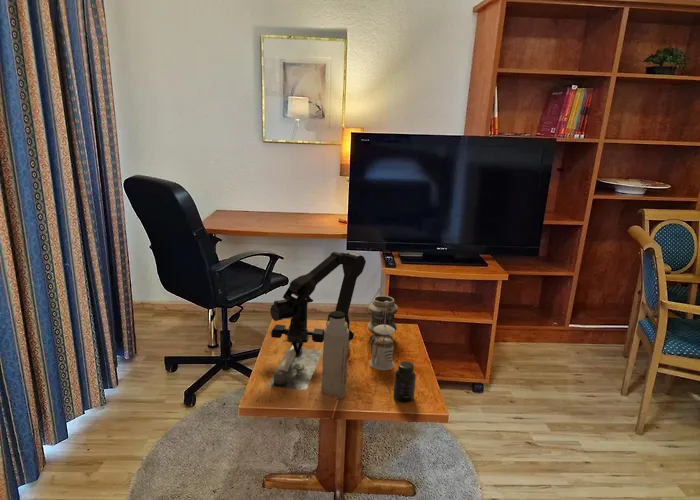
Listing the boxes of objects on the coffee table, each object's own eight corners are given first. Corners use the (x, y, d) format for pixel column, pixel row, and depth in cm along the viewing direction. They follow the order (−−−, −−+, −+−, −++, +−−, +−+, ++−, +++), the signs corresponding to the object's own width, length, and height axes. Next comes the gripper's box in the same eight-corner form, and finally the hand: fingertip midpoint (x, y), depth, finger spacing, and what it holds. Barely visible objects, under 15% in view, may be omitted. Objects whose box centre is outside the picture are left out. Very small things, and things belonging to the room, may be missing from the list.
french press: (400, 364, 181) (405, 301, 174) (380, 374, 172) (385, 309, 166) (379, 355, 187) (384, 294, 181) (360, 364, 179) (364, 301, 172)
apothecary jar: (376, 330, 209) (379, 291, 205) (400, 339, 202) (404, 298, 198) (361, 339, 200) (363, 298, 195) (385, 348, 193) (389, 306, 188)
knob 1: (285, 385, 158) (285, 373, 157) (272, 384, 159) (272, 372, 158) (294, 366, 171) (294, 355, 170) (282, 365, 171) (282, 353, 170)
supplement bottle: (391, 391, 162) (394, 359, 159) (411, 391, 162) (414, 359, 159) (394, 403, 155) (397, 369, 152) (415, 403, 156) (419, 369, 153)
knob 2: (292, 347, 185) (292, 337, 184) (303, 348, 185) (303, 338, 183) (283, 363, 172) (283, 352, 171) (295, 365, 172) (295, 353, 171)
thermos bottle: (350, 391, 160) (354, 312, 153) (336, 402, 154) (341, 320, 147) (330, 383, 164) (334, 306, 157) (316, 393, 158) (319, 314, 151)
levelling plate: (322, 354, 185) (322, 349, 184) (306, 394, 157) (306, 388, 157) (289, 350, 186) (289, 345, 186) (267, 389, 158) (267, 384, 158)
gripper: (267, 320, 164) (266, 362, 168) (321, 326, 162) (319, 368, 166) (275, 309, 175) (275, 348, 178) (326, 314, 173) (324, 354, 177)
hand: (297, 355), depth 175 cm, fingers closed
